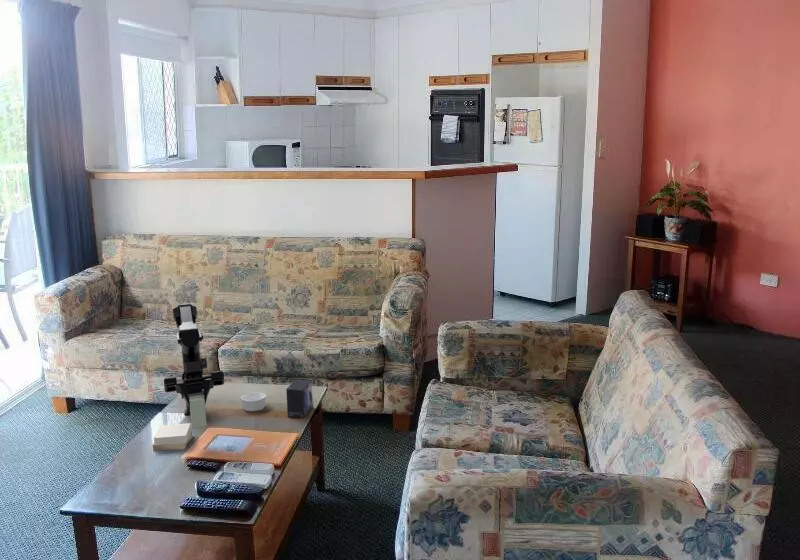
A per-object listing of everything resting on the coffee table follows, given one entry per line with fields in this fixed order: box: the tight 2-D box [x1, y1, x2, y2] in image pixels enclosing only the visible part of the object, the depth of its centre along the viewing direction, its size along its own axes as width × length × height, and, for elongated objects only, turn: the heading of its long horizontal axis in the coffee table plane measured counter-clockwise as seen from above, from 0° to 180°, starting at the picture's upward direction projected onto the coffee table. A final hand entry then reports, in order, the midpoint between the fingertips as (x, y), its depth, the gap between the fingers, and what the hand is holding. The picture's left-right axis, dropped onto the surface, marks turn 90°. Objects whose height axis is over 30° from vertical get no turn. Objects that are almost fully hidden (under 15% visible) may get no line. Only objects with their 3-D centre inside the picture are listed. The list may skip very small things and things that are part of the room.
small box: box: [286, 378, 314, 419], centre depth 265 cm, size 11×6×10 cm, turn 168°
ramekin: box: [240, 391, 267, 412], centre depth 272 cm, size 9×9×4 cm
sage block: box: [189, 394, 207, 429], centre depth 239 cm, size 4×4×9 cm
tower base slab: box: [152, 430, 193, 451], centre depth 243 cm, size 10×10×2 cm
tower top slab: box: [153, 422, 192, 445], centre depth 243 cm, size 10×10×2 cm
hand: (197, 405), depth 238 cm, fingers closed on sage block, 4 cm apart
